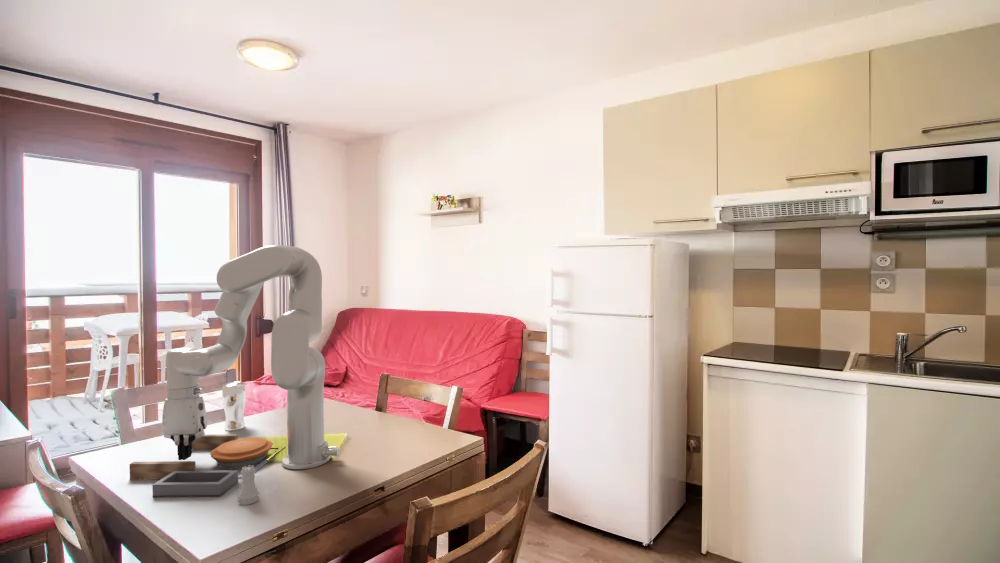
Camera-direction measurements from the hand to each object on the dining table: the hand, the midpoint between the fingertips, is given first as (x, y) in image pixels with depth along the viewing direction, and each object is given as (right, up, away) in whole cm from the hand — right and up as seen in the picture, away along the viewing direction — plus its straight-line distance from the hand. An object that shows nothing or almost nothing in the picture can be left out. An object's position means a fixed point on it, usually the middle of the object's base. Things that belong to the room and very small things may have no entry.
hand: (184, 458), depth 140 cm
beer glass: (-2, -1, +30) cm, 30 cm away
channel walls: (+1, -1, 0) cm, 2 cm away
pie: (+16, -1, +1) cm, 16 cm away
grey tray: (+14, -2, -18) cm, 22 cm away
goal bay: (+15, -1, 0) cm, 15 cm away
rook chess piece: (+30, -2, -24) cm, 38 cm away
